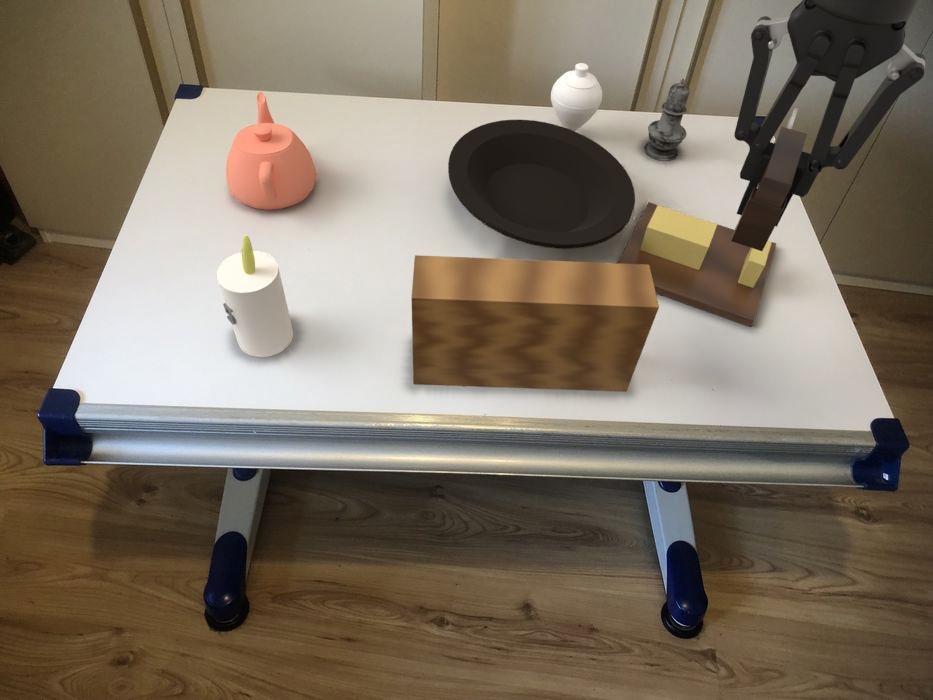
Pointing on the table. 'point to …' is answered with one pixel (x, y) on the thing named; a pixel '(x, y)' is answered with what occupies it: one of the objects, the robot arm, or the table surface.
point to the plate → (541, 184)
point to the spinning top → (576, 97)
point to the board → (703, 274)
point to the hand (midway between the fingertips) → (759, 212)
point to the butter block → (678, 237)
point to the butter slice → (754, 265)
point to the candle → (255, 301)
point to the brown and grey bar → (771, 189)
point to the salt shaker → (669, 125)
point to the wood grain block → (529, 322)
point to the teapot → (269, 164)
